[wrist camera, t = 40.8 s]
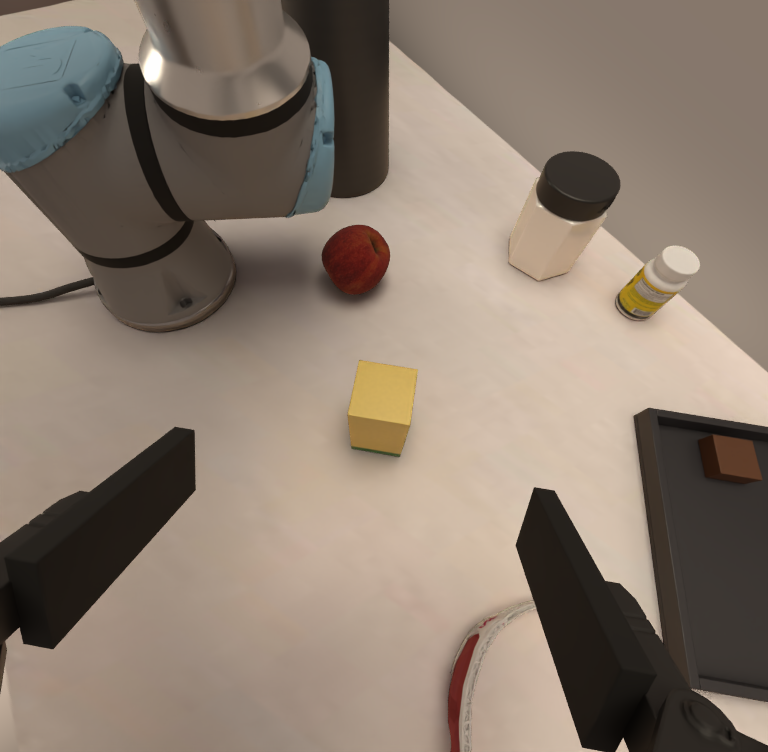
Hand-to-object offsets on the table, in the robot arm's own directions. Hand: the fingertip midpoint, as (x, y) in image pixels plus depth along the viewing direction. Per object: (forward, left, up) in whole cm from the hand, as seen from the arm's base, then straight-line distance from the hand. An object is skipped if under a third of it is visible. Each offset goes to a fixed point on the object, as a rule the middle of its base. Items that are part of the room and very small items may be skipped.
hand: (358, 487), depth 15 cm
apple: (-6, +29, -24) cm, 38 cm away
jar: (+17, +38, -24) cm, 48 cm away
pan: (+36, +5, -24) cm, 43 cm away
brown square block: (+35, +13, -23) cm, 44 cm away
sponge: (0, +10, -24) cm, 26 cm away
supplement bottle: (+29, +32, -24) cm, 49 cm away
